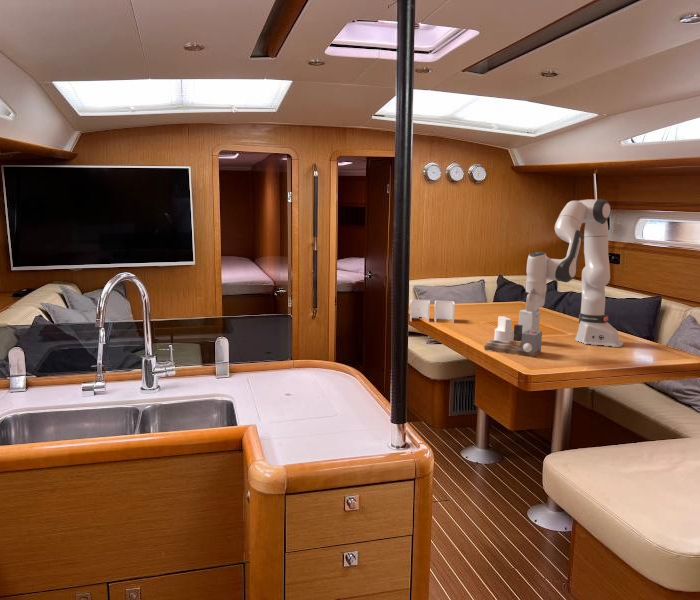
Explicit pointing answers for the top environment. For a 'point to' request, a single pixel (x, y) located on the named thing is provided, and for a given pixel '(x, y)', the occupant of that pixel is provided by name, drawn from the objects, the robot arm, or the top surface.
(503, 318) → the base with upright slab
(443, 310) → the white slotted rack
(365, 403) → the top surface
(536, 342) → the end cabinet
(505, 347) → the rail board
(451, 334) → the top surface
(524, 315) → the skincare box
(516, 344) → the carriage
